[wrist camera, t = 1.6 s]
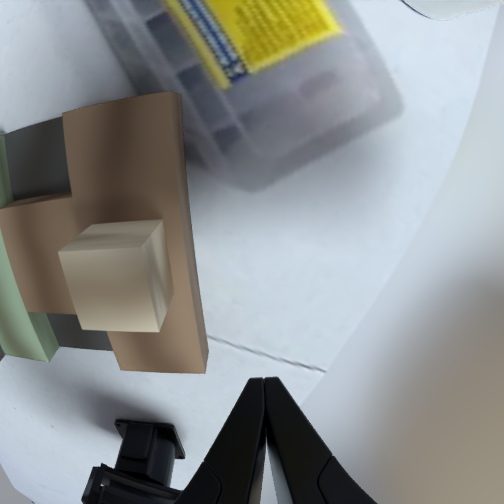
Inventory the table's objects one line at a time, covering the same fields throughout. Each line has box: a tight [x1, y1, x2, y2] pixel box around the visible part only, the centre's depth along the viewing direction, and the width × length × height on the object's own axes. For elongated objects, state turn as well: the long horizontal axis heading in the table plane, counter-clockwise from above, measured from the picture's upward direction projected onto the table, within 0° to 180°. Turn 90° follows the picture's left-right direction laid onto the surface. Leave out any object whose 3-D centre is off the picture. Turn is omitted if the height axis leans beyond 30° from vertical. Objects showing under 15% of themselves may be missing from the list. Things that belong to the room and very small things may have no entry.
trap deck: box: [0, 91, 209, 374], centre depth 18 cm, size 20×18×4 cm
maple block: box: [58, 219, 175, 332], centre depth 16 cm, size 4×4×4 cm
